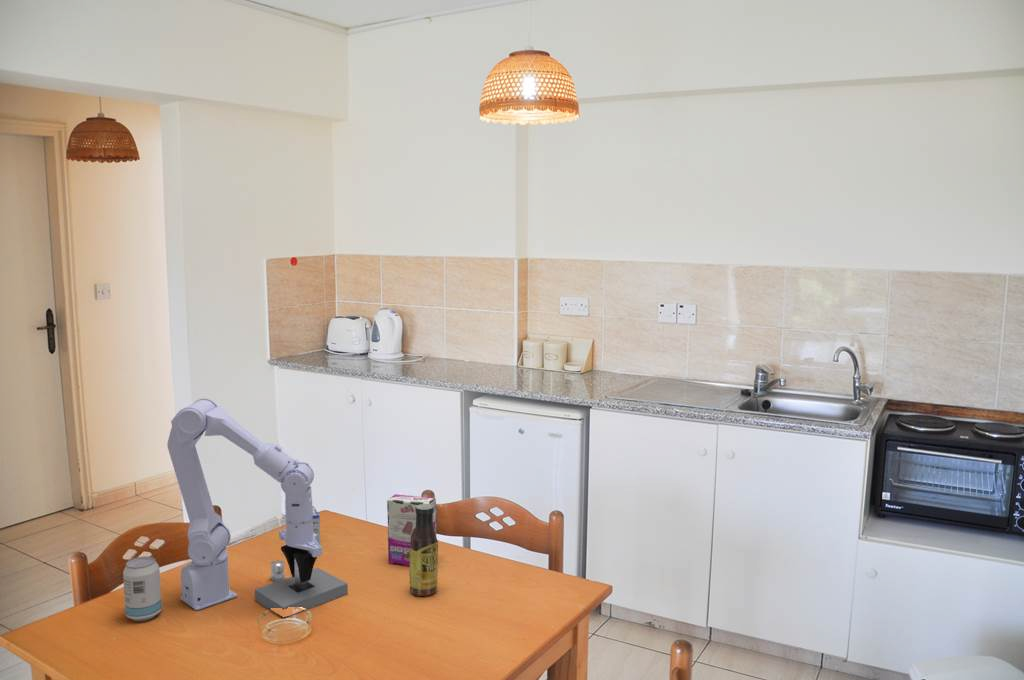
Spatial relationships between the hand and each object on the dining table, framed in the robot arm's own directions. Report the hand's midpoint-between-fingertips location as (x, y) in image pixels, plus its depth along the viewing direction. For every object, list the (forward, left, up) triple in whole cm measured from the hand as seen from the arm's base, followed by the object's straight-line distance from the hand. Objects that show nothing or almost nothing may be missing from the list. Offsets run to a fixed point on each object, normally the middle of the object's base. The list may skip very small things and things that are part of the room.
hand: (301, 578), depth 177 cm
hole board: (0, 0, -4) cm, 4 cm away
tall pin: (0, 0, -3) cm, 3 cm away
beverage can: (-28, +16, -5) cm, 33 cm away
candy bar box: (+29, -3, -5) cm, 30 cm away
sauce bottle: (+21, -17, -5) cm, 27 cm away
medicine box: (+18, +26, -5) cm, 32 cm away
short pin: (+1, +12, -4) cm, 13 cm away
